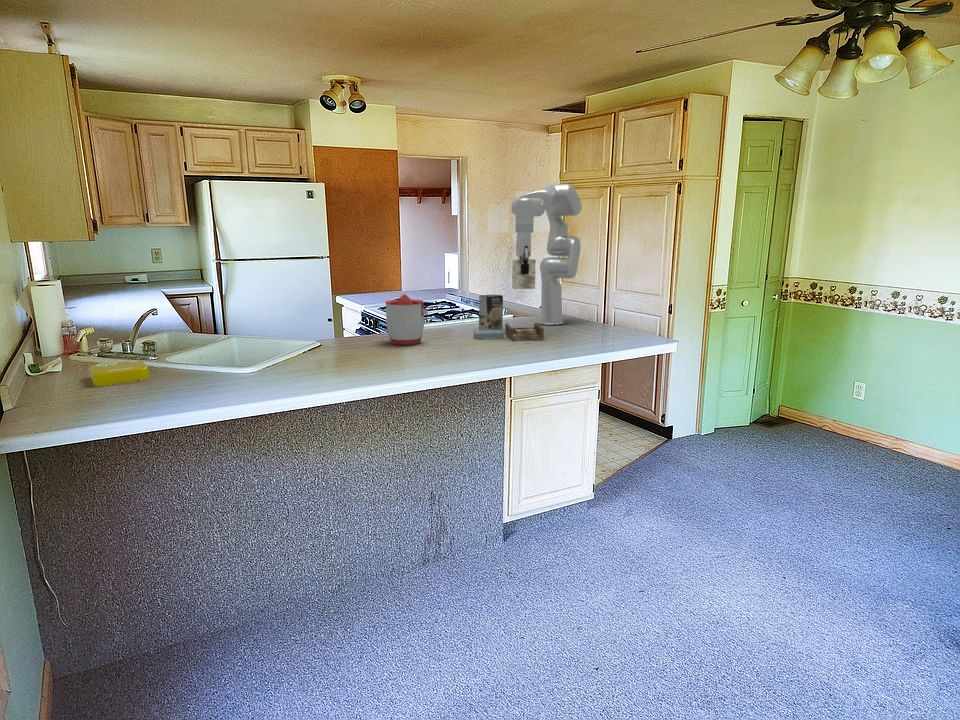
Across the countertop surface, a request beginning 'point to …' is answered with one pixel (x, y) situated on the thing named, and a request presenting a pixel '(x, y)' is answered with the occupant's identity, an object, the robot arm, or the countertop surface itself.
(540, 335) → the walnut rack
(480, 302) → the coffee box
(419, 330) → the citrus juicer
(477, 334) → the slate board
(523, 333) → the upper oak offcut
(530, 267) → the tall cream block
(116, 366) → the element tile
